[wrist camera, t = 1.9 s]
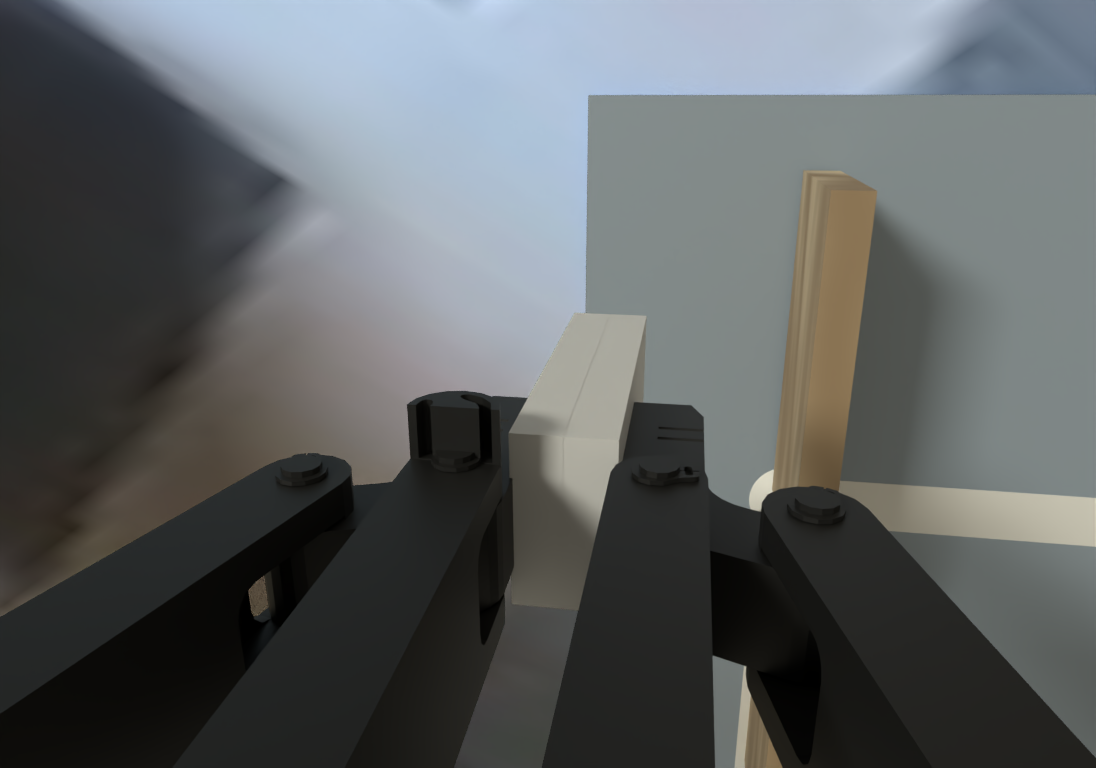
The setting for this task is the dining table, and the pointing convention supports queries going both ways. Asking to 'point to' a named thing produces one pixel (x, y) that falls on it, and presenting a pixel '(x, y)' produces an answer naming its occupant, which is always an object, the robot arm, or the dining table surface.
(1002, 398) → the card
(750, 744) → the fixed panel
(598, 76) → the dining table surface
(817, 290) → the hinged panel
